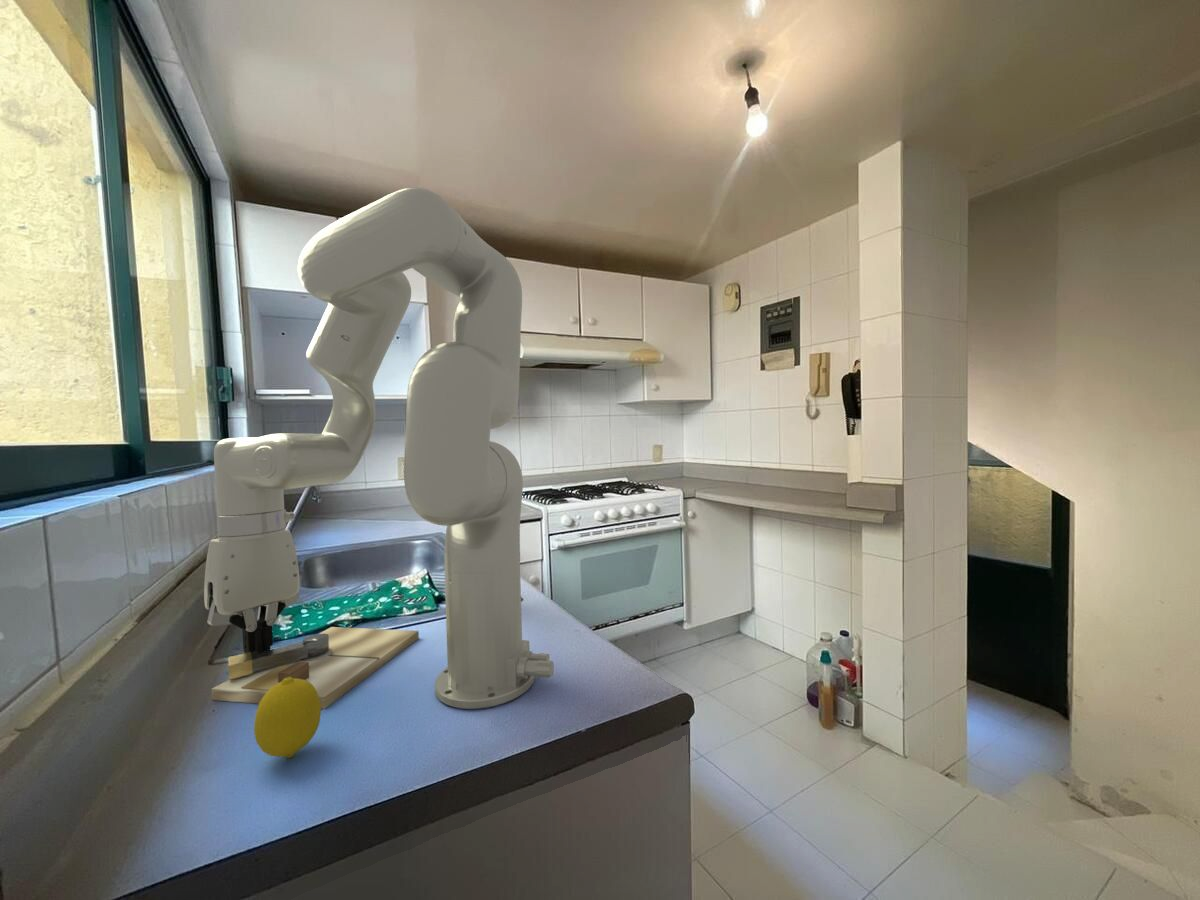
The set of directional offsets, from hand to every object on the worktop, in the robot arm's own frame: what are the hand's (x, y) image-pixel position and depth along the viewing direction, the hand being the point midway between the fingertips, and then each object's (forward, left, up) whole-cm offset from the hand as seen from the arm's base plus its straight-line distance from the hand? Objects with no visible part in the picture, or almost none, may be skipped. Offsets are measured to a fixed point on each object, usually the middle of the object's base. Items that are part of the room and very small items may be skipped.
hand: (258, 654), depth 64 cm
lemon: (-20, +15, -3) cm, 25 cm away
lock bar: (-4, 0, -1) cm, 4 cm away
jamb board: (-9, -3, -2) cm, 9 cm away
